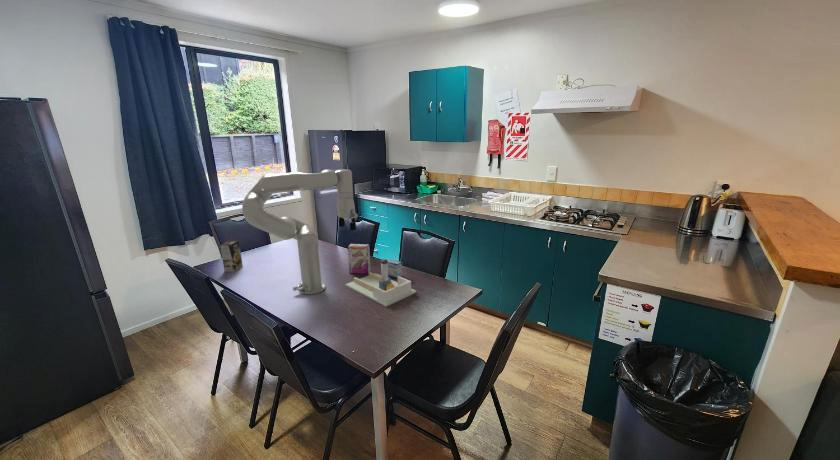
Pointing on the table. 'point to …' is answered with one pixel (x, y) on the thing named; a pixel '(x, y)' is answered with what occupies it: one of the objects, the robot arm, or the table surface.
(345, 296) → the table surface
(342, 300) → the table surface
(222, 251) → the coffee box
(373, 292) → the white tray
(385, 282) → the kicker
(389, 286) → the ball
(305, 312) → the table surface
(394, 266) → the medicine box
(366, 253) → the candy bar box
